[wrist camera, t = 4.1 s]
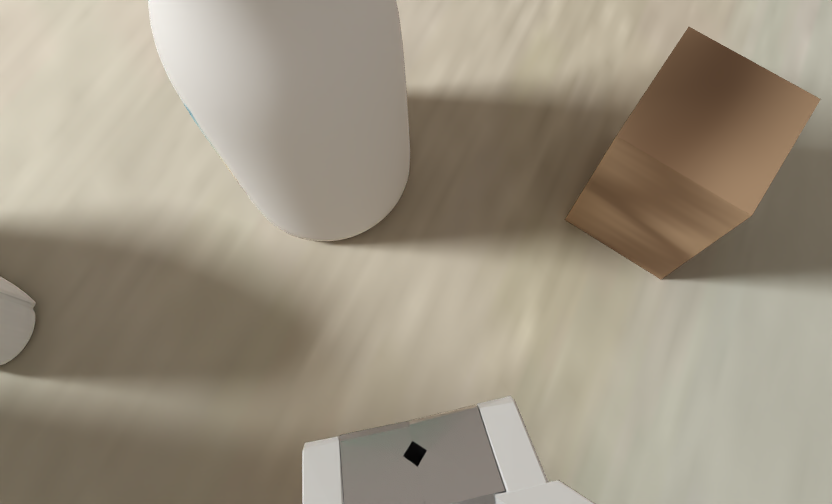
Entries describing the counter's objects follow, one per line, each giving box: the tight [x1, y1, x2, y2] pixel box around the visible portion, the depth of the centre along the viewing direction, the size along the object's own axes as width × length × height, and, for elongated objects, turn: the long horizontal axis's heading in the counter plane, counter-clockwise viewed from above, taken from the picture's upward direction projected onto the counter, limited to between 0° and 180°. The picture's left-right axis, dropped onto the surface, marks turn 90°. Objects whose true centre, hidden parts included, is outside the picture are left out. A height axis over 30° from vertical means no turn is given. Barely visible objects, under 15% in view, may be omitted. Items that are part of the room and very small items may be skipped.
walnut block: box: [565, 27, 820, 279], centre depth 28 cm, size 5×5×9 cm
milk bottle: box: [148, 0, 410, 241], centre depth 23 cm, size 8×8×20 cm
